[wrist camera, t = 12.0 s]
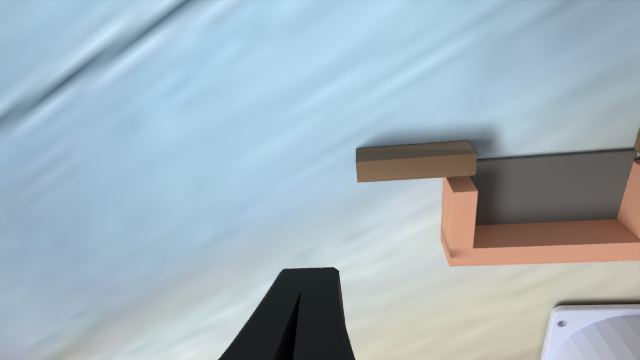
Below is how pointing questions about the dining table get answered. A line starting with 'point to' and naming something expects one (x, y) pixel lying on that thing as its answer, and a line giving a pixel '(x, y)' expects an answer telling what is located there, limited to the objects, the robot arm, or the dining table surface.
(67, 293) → the dining table surface
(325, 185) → the dining table surface
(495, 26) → the dining table surface
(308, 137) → the dining table surface
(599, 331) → the robot arm
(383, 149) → the channel
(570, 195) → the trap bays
